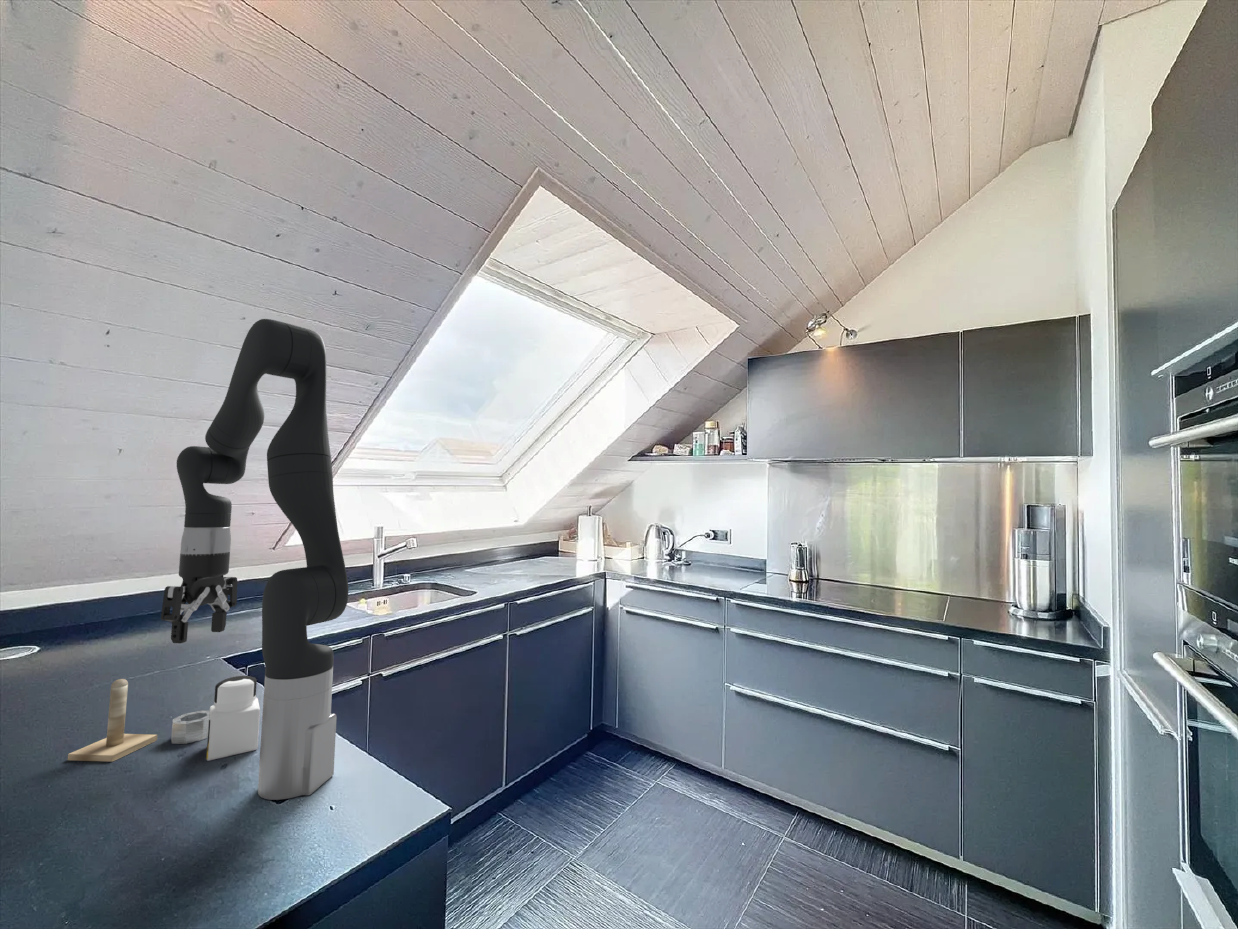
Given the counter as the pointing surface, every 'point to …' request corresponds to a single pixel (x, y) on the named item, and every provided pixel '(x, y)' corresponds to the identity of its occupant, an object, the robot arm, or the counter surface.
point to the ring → (190, 727)
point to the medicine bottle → (233, 718)
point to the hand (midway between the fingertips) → (199, 637)
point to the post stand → (114, 732)
